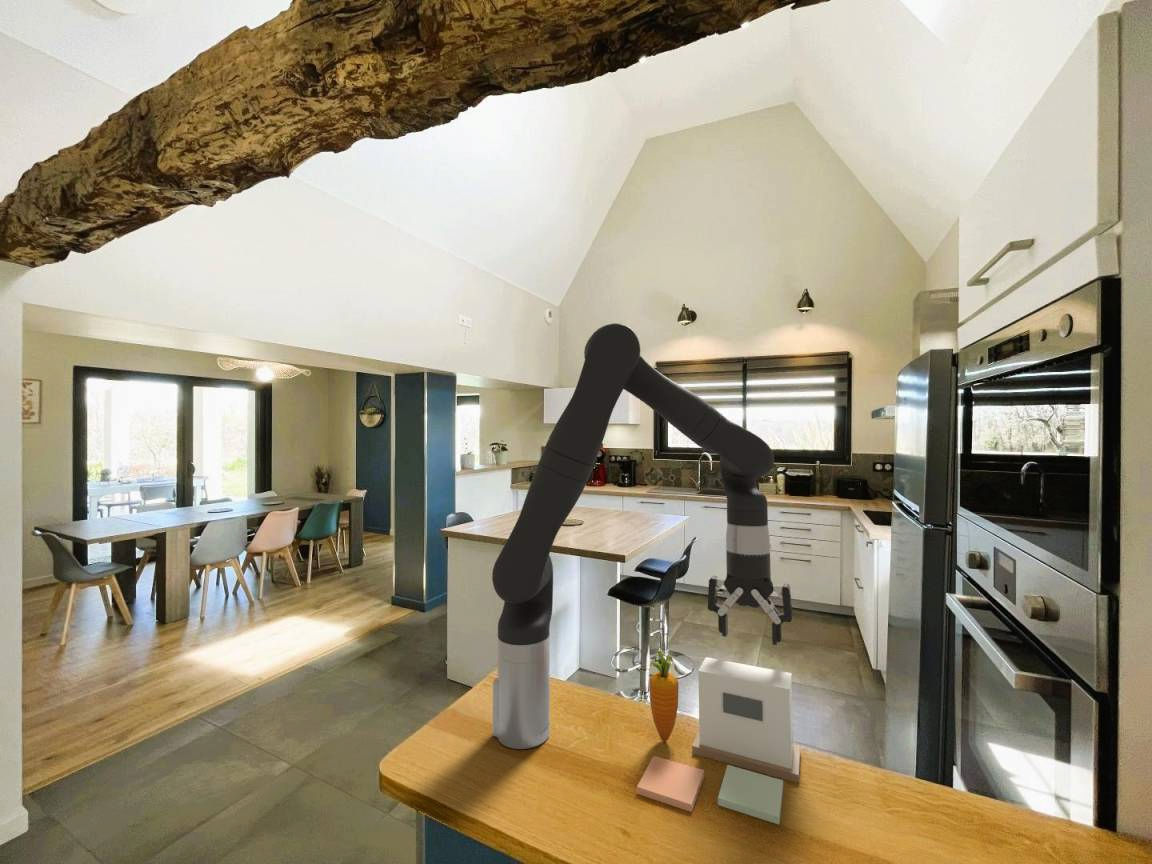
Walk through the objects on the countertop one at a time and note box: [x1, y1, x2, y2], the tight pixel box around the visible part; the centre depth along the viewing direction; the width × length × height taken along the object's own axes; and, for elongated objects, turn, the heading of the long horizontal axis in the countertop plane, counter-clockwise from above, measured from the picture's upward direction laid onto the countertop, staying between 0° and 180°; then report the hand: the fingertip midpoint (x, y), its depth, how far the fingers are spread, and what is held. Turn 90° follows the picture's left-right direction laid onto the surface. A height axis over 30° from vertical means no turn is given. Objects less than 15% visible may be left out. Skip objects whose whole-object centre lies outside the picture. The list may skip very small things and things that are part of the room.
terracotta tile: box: [636, 755, 705, 813], centre depth 71 cm, size 8×8×1 cm
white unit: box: [691, 656, 801, 784], centre depth 79 cm, size 16×8×13 cm, turn 63°
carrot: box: [648, 649, 679, 743], centre depth 82 cm, size 5×5×15 cm
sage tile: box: [717, 764, 784, 826], centre depth 69 cm, size 8×8×1 cm
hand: (749, 639), depth 86 cm, fingers open, 8 cm apart
